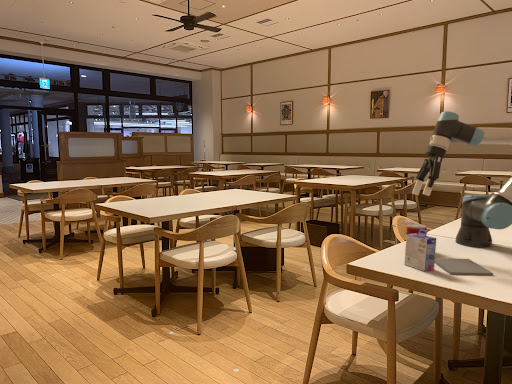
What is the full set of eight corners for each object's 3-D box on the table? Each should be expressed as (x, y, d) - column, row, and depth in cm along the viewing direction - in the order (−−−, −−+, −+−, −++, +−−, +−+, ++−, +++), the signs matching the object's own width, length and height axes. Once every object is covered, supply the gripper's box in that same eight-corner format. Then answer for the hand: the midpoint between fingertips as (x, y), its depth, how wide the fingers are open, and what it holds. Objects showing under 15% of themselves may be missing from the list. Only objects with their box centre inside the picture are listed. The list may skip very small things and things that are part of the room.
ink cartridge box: (435, 269, 146) (437, 231, 144) (425, 272, 144) (427, 233, 142) (413, 262, 155) (415, 226, 153) (403, 264, 152) (405, 228, 151)
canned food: (427, 252, 170) (428, 227, 168) (407, 251, 171) (408, 226, 170) (423, 248, 177) (424, 224, 176) (404, 247, 179) (405, 223, 177)
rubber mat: (468, 260, 158) (468, 258, 158) (493, 275, 140) (493, 273, 140) (430, 259, 159) (430, 258, 159) (450, 274, 141) (450, 272, 141)
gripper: (419, 147, 180) (403, 191, 180) (440, 141, 155) (421, 192, 156) (435, 153, 179) (418, 197, 180) (459, 147, 154) (440, 198, 155)
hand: (420, 194), depth 168 cm, fingers open, 13 cm apart
